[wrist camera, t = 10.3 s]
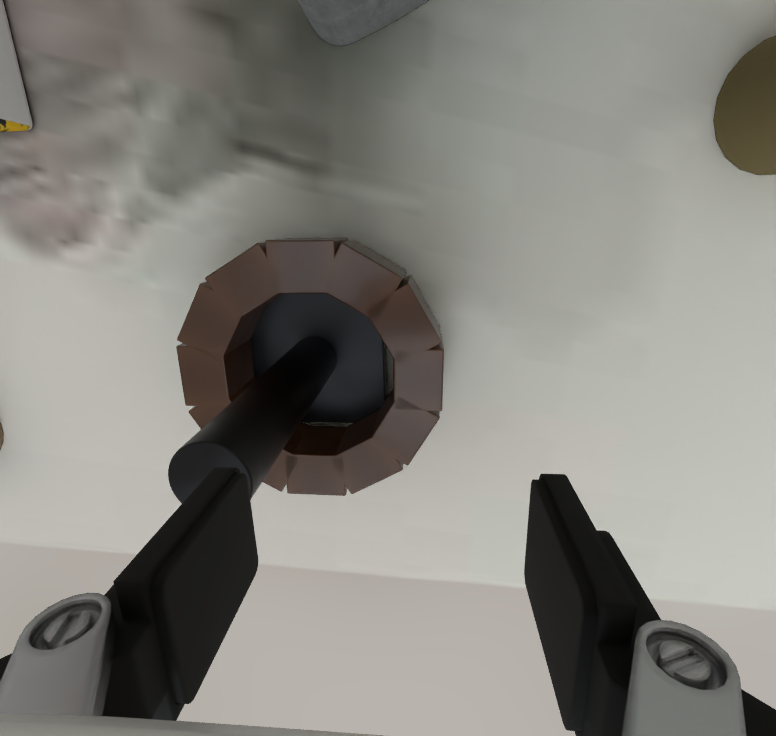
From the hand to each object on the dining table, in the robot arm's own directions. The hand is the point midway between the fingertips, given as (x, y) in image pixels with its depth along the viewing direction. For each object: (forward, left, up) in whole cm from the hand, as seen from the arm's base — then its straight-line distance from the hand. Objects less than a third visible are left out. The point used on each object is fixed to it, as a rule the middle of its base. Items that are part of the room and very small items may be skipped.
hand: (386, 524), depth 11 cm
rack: (+5, 0, -16) cm, 17 cm away
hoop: (+5, 0, -15) cm, 16 cm away
